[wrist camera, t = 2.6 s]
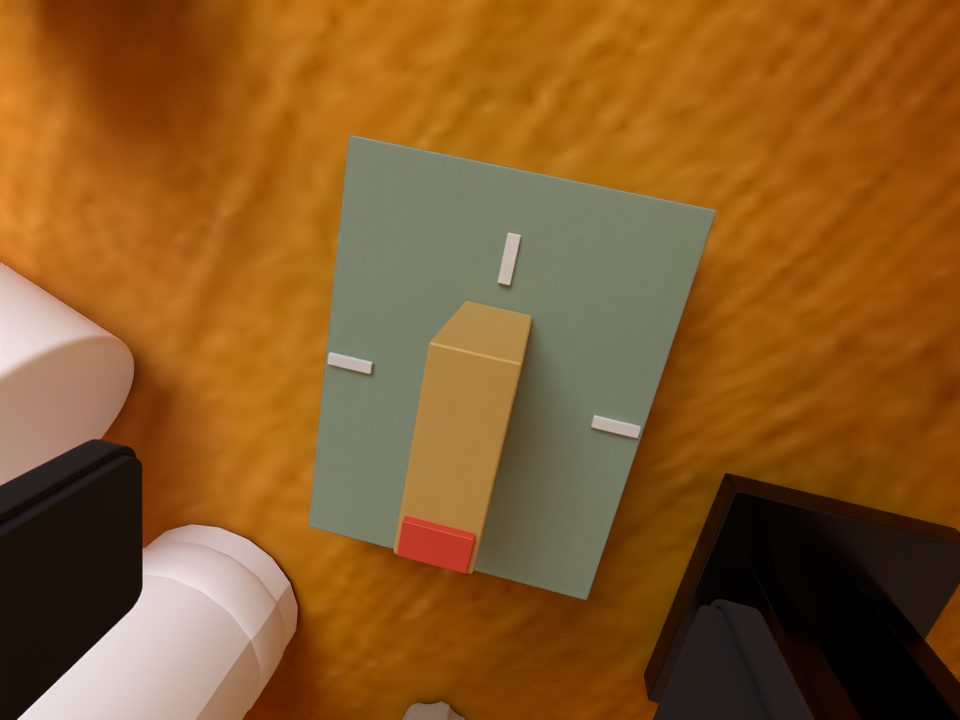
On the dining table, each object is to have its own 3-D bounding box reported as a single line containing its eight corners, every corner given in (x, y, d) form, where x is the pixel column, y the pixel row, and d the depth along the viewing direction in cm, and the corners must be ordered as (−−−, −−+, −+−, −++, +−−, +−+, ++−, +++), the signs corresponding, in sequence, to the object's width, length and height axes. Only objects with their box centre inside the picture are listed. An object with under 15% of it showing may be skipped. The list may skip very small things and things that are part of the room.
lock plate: (383, 143, 17) (346, 133, 14) (689, 207, 16) (719, 210, 13) (341, 482, 21) (305, 529, 18) (583, 544, 21) (587, 604, 18)
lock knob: (465, 299, 15) (425, 344, 11) (533, 314, 15) (522, 367, 10) (433, 463, 17) (389, 561, 12) (494, 478, 17) (470, 582, 12)
